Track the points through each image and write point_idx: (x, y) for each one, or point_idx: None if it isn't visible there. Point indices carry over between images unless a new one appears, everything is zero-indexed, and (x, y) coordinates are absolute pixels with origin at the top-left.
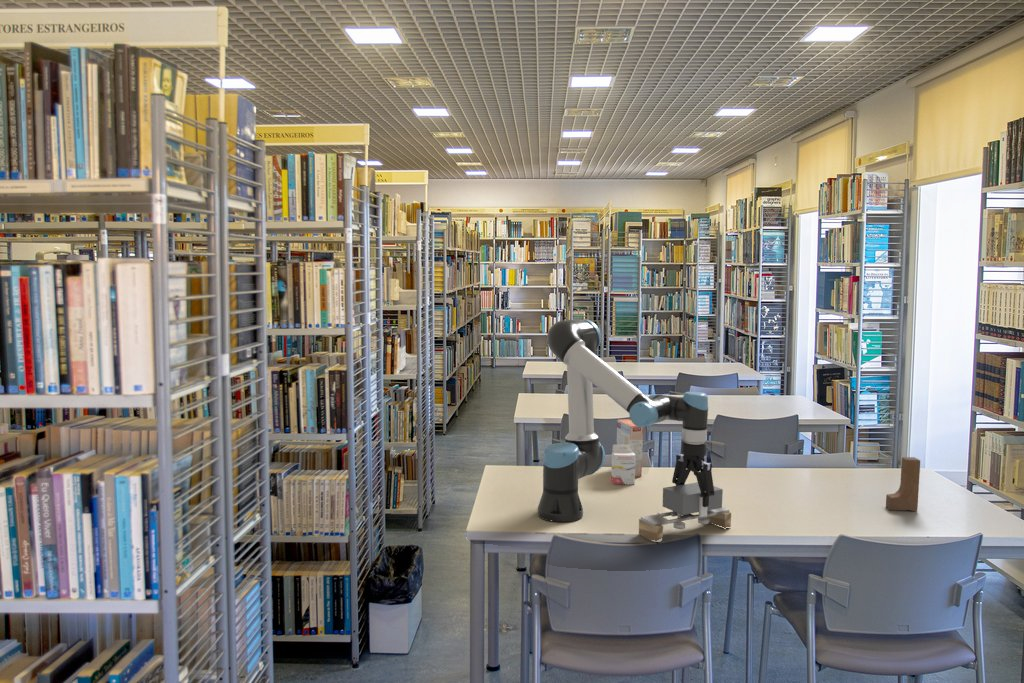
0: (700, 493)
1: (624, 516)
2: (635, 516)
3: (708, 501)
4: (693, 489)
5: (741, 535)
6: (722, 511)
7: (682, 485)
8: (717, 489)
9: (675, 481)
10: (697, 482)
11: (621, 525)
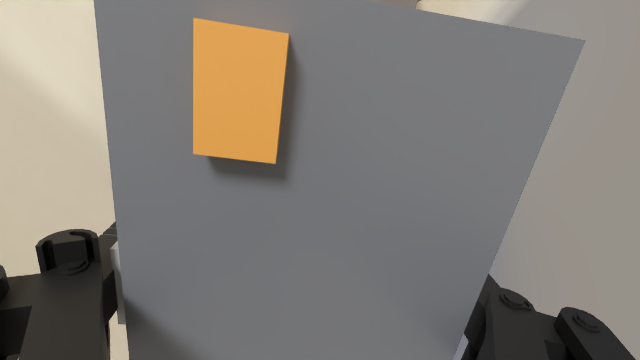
0: (448, 355)
1: (5, 271)
2: (20, 235)
3: None
4: (331, 339)
5: (505, 13)
6: (416, 3)
7: (152, 334)
8: (529, 118)
9: (12, 351)
10: (108, 75)
11: (112, 340)
